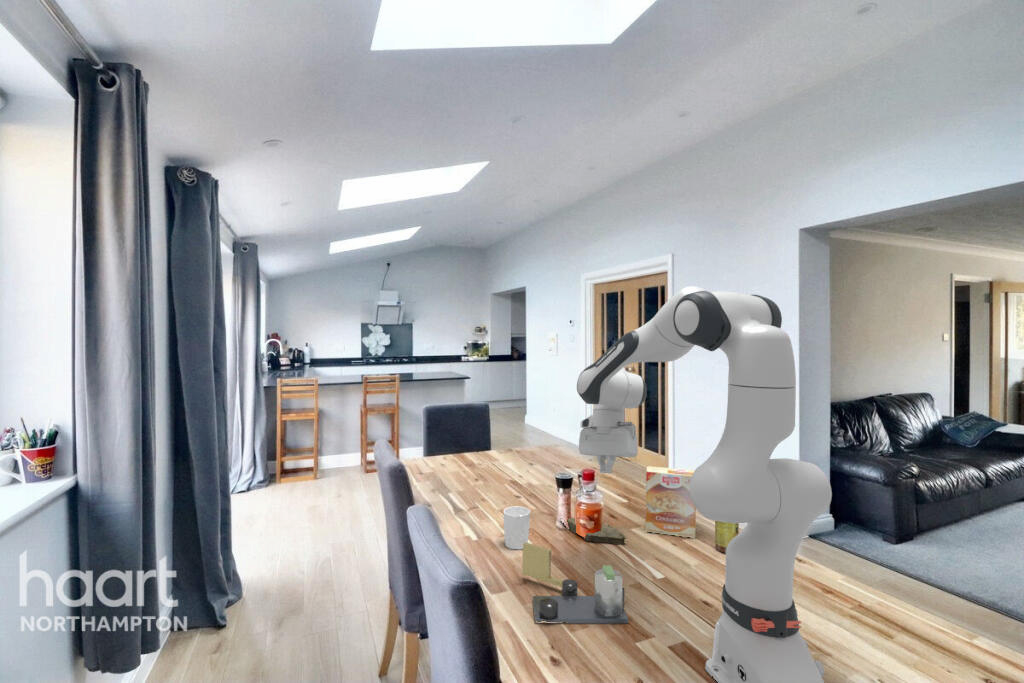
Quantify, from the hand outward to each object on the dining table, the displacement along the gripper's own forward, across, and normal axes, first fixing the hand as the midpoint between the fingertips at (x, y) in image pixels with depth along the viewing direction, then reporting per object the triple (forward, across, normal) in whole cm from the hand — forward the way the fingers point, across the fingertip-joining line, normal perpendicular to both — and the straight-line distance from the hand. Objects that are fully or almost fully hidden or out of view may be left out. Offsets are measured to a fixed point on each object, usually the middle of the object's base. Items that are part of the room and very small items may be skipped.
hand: (605, 473), depth 130 cm
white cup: (+23, +25, +10) cm, 36 cm away
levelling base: (+31, -10, +15) cm, 36 cm away
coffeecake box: (+15, +9, -36) cm, 40 cm away
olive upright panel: (+28, +1, +15) cm, 32 cm away
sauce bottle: (+17, -8, -41) cm, 45 cm away
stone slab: (+18, +21, -14) cm, 32 cm away
